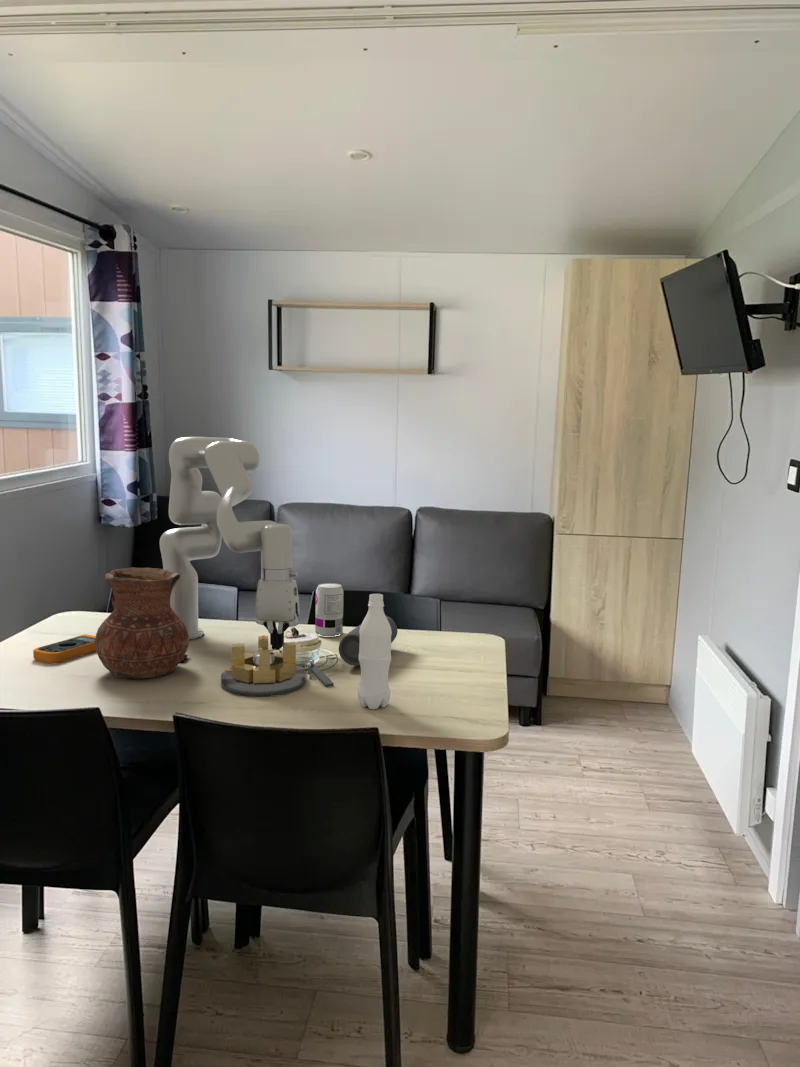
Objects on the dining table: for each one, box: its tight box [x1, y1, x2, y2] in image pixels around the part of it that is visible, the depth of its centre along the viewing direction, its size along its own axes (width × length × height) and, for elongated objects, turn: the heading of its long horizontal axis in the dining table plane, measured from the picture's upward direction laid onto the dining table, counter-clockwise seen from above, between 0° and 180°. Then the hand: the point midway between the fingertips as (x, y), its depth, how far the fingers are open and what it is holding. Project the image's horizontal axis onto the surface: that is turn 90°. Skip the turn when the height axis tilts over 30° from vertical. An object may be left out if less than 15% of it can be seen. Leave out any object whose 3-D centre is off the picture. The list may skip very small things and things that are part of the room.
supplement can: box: [314, 582, 344, 636], centre depth 227 cm, size 8×8×15 cm
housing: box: [220, 651, 307, 698], centre depth 182 cm, size 20×20×7 cm
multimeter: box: [32, 634, 96, 665], centre depth 201 cm, size 9×18×3 cm, turn 155°
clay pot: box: [95, 566, 190, 680], centre depth 187 cm, size 22×21×25 cm
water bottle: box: [357, 593, 392, 710], centre depth 167 cm, size 7×7×25 cm
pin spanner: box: [307, 659, 335, 688], centre depth 188 cm, size 16×2×3 cm, turn 23°
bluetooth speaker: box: [338, 615, 398, 666], centre depth 204 cm, size 23×9×10 cm, turn 161°
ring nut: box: [230, 635, 297, 683], centre depth 181 cm, size 15×15×7 cm
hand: (277, 648), depth 187 cm, fingers closed
